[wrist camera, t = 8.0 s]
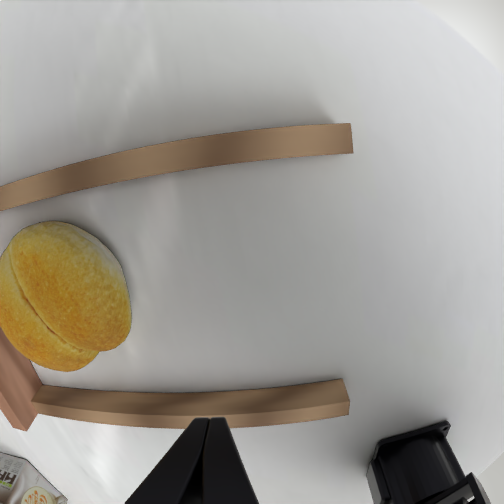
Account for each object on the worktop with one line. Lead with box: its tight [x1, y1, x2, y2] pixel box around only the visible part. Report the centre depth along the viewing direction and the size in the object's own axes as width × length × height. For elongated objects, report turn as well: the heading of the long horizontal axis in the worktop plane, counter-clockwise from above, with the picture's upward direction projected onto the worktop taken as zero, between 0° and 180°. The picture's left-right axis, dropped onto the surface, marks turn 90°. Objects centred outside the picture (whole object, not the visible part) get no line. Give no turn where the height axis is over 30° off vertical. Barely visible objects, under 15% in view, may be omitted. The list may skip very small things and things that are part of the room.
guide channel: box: [0, 123, 353, 431], centre depth 14 cm, size 22×15×4 cm
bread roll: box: [0, 221, 132, 372], centre depth 14 cm, size 8×9×4 cm
